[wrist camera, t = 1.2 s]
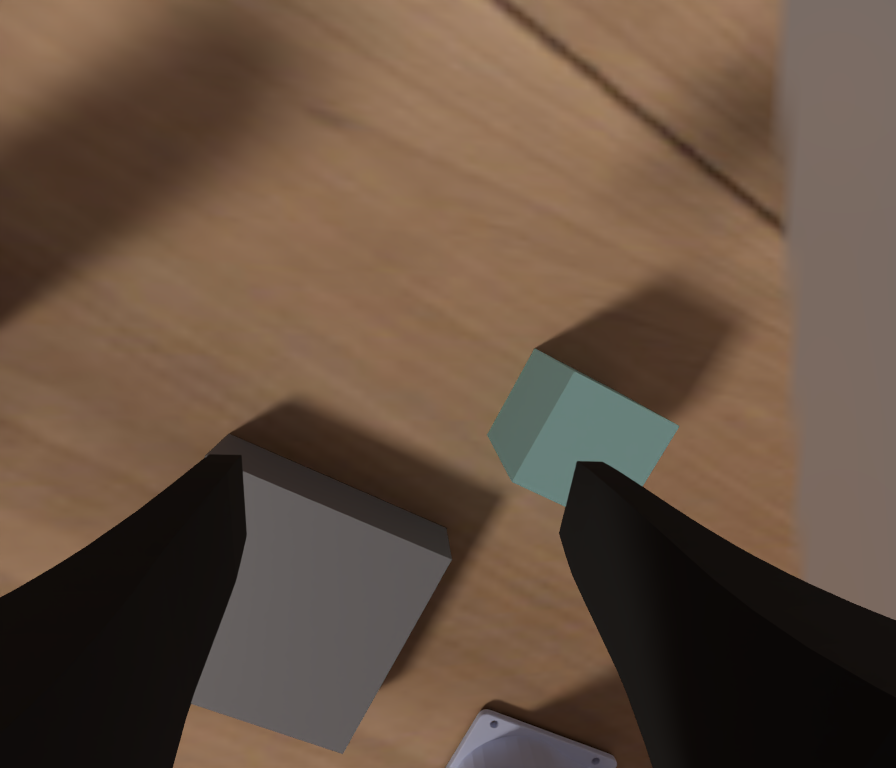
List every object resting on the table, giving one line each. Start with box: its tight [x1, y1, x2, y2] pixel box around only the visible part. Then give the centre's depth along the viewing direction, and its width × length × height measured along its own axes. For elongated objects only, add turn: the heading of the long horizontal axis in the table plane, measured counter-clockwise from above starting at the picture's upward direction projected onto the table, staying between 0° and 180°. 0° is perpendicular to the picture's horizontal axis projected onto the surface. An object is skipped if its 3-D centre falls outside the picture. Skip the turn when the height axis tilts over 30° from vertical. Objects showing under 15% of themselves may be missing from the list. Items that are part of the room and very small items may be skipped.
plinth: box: [191, 434, 452, 754], centre depth 25 cm, size 12×12×3 cm
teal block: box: [487, 349, 679, 507], centre depth 23 cm, size 5×5×6 cm
